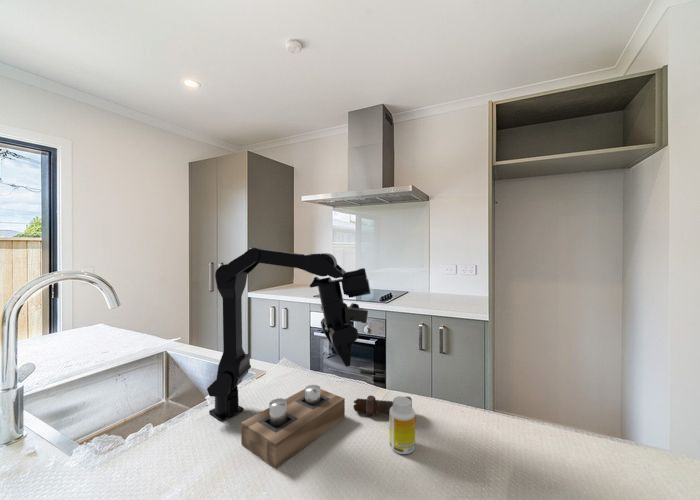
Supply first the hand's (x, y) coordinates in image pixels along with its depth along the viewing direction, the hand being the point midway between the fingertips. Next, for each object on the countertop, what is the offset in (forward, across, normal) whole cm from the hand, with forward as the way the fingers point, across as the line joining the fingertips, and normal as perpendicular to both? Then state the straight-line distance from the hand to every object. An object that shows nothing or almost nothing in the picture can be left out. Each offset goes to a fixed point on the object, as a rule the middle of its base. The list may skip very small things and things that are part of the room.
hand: (343, 360), depth 76 cm
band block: (+12, -2, +15) cm, 19 cm away
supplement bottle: (+17, -13, -7) cm, 23 cm away
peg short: (+10, +2, +10) cm, 14 cm away
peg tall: (+8, -5, +18) cm, 21 cm away
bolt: (+17, 0, -7) cm, 18 cm away
